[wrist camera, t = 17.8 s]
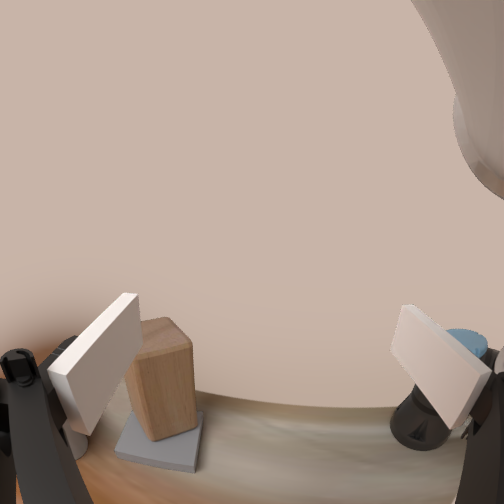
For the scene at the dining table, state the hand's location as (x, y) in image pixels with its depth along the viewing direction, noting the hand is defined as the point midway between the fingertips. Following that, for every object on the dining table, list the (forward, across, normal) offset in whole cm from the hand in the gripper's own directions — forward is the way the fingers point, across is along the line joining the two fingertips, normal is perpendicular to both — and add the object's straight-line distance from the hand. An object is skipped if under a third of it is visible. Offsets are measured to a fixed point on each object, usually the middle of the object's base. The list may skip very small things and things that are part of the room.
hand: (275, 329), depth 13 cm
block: (+25, -15, -36) cm, 46 cm away
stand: (+22, -15, -38) cm, 46 cm away
